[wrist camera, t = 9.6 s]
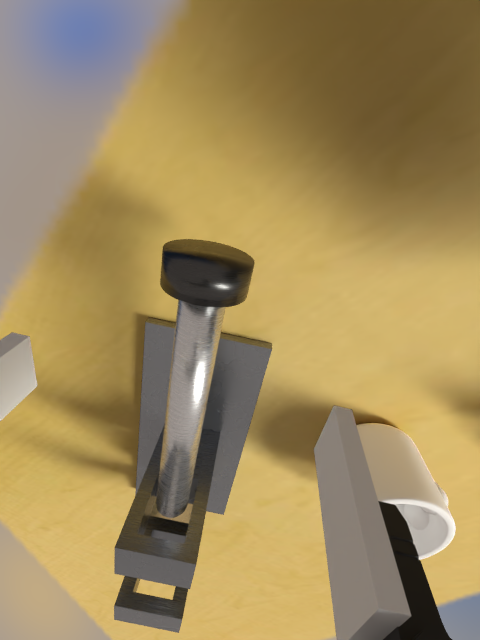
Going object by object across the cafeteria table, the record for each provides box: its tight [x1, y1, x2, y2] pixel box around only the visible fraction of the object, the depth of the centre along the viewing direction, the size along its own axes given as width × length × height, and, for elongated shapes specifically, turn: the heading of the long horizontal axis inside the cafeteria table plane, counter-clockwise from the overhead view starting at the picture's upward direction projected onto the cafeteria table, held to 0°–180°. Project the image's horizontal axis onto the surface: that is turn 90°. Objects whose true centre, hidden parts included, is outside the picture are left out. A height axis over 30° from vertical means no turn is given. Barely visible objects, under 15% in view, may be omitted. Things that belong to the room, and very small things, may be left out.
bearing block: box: [114, 317, 272, 633], centre depth 30 cm, size 27×12×14 cm, turn 169°
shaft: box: [156, 239, 254, 518], centre depth 22 cm, size 23×5×5 cm, turn 169°
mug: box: [356, 423, 455, 560], centre depth 32 cm, size 12×10×9 cm
